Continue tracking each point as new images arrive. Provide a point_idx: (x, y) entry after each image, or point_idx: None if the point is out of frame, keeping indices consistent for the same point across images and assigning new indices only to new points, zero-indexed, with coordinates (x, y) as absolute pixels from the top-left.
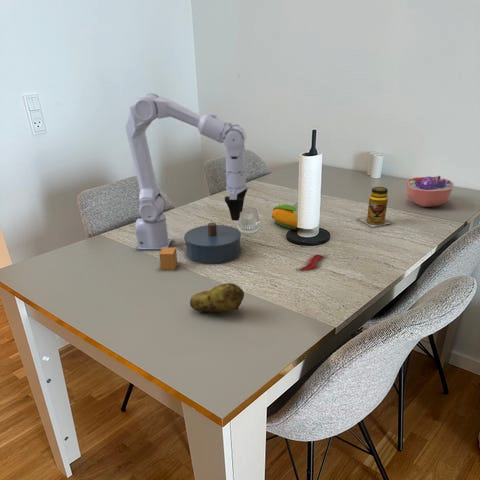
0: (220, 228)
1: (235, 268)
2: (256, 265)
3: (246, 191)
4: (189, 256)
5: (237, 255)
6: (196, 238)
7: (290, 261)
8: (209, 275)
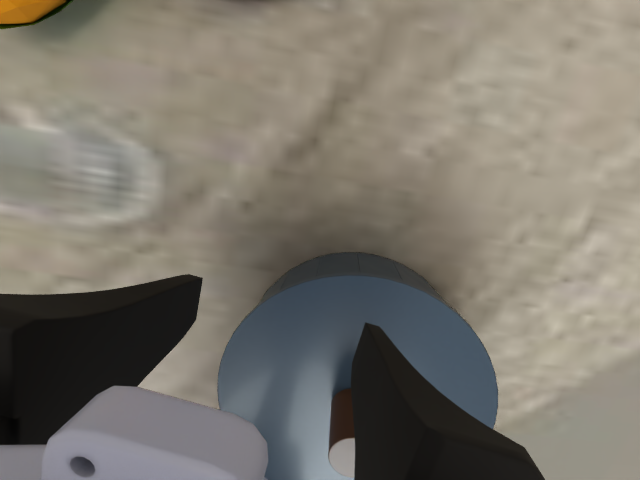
0: (273, 362)
1: (520, 293)
2: (521, 207)
3: (49, 321)
4: None
5: (412, 271)
6: None
7: (534, 37)
8: (547, 385)
